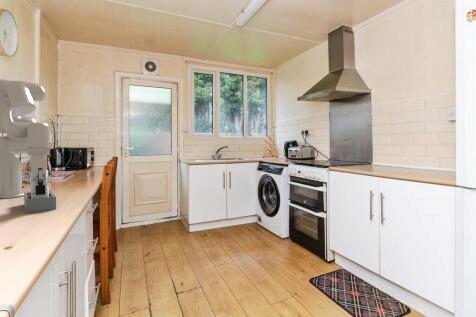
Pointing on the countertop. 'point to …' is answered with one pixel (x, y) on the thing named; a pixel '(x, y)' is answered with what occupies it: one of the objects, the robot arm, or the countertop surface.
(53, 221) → the countertop surface
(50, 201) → the holder
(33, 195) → the syrup box
